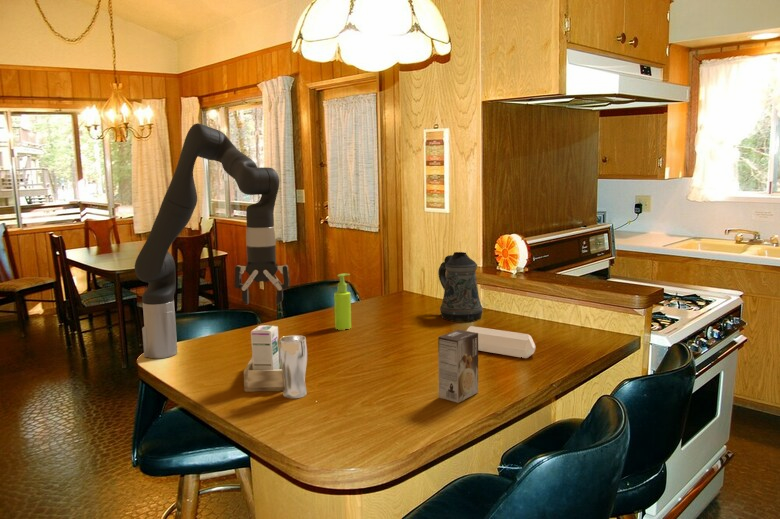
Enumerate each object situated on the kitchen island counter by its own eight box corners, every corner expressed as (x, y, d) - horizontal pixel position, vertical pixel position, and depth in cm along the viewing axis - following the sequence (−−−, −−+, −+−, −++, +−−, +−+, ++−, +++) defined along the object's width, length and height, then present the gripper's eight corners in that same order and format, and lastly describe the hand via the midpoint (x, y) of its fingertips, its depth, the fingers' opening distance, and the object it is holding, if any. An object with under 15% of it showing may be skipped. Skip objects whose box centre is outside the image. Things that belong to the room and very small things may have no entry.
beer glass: (296, 401, 152) (294, 343, 149) (275, 396, 155) (273, 339, 153) (314, 392, 158) (312, 336, 155) (293, 387, 161) (291, 333, 159)
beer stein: (475, 323, 225) (475, 257, 221) (426, 318, 233) (426, 254, 229) (487, 313, 239) (488, 251, 236) (441, 309, 248) (441, 249, 244)
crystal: (541, 341, 188) (471, 330, 201) (534, 334, 183) (463, 324, 196) (536, 364, 186) (466, 352, 199) (530, 358, 181) (457, 346, 193)
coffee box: (458, 387, 160) (458, 328, 158) (478, 393, 156) (479, 332, 153) (437, 397, 153) (437, 336, 151) (458, 403, 149) (459, 340, 147)
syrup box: (274, 383, 161) (271, 330, 159) (252, 382, 162) (250, 330, 160) (281, 376, 167) (278, 325, 165) (260, 375, 168) (258, 324, 165)
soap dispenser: (356, 326, 222) (354, 273, 219) (344, 331, 217) (343, 276, 214) (343, 324, 226) (342, 271, 223) (332, 328, 220) (330, 274, 217)
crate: (244, 391, 159) (243, 371, 158) (257, 366, 179) (256, 349, 178) (286, 390, 159) (285, 370, 158) (294, 365, 179) (294, 348, 178)
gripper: (230, 245, 156) (233, 307, 158) (286, 245, 156) (288, 306, 159) (236, 242, 163) (239, 300, 166) (289, 241, 164) (291, 300, 166)
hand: (263, 303), depth 162 cm, fingers open, 8 cm apart
